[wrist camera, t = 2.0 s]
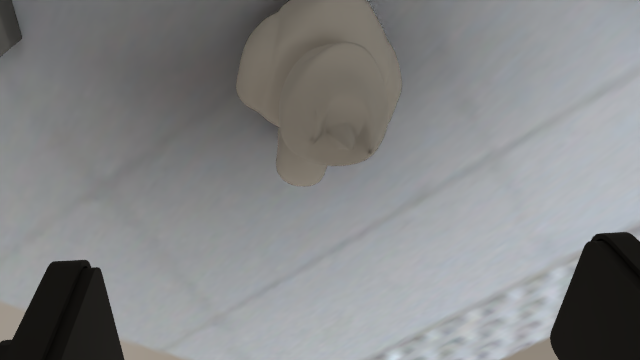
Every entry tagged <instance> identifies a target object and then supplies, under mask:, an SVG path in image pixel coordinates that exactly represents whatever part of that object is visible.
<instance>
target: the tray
mask: <svg viewBox="0 0 640 360" xmlns="http://www.w3.org/2000/svg"><path fill="white" fill-rule="evenodd" d="M21 39H22V36H21V33H20V29H19V26H18V22H17V19H16V16H15V12H14V9H13V5H12V2H11V0H0V57H1V56H2V55H3V54H4V53H5V52H7V51H8V50H9V49H10V48H11V47H12V46H14V45H15V44H16V43H17V42H18V41H19V40H21Z"/></svg>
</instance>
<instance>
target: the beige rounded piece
mask: <svg viewBox="0 0 640 360" xmlns="http://www.w3.org/2000/svg"><path fill="white" fill-rule="evenodd" d="M401 89H402V79H401V72H400V68H399V63H398V60H397V57H396V54H395V52H394V50H393V48H392V46H391V45H390V43H389V42H388V41H387V38H386V35H385V33H384V31H383V29H382V27H381V25H380V23H379V21H378V19H377V17H376V15H375V13H374V12H373V10H372V8H371V6H370V4H369V3H368V1H367V0H290V1H288V2H287V3H286V4H284V5H283V6H282V7H281V8H280V10H279V11H278V12H277V13H275V14H273V15H271V16H269V17H268V18H266V19H265V20H264V21H262V22H261V23H260V24H259V25H258V26H257V27H256V29H255V30H254V31H253V32H252V33H251V35H250V36H249V38H248V40H247V42H246V44H245V47H244V50H243V52H242V56H241V61H240V66H239V71H238V76H237V82H236V90H237V94H238V96H239V98H240V99H241V101H242V102H243V103H244V104H245V105H246V106H248V107H249V108H251V109H253V110H255V111H257V112H259V113H260V114H261V115H262V116H263V117H264V118H265V119H266V120H268V121H269V122H271V123H272V124H274V125H276V126H278V127H279V129H278V149H277V159H276V167H277V172H278V174H279V175H280V177H281V178H282V179H283V180H284V181H285V182H287V183H289V184H291V185H295V186H311V185H314V184H316V183H318V182H319V181H320V180H321V179H322V178H323V176H324V174H325V171H326V168H327V165H328V166H345V165H351V164H356V163H359V162H362V161H364V160H366V159H368V158H369V157H371V156H372V155H373V154H374V153H375V151H376V150H377V149H378V147H379V145H380V144H381V142H382V140H383V138H384V135H385V132H386V129H387V126H388V124H389V122H390V120H391V117H392V115H393V112H394V110H395V107H396V104H397V102H398V99H399V97H400V94H401Z"/></svg>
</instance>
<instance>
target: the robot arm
mask: <svg viewBox="0 0 640 360" xmlns="http://www.w3.org/2000/svg"><path fill="white" fill-rule="evenodd" d="M550 340H551V345H552V348H553V350H554V352H555V354H556V356H557V357H558V359H559V360H640V242H639V241H638V240H637V239H636V238H635V237H634V236H633V235H632V234H630V233H627V232H619V233H601V234H596V235H595V236H594V237H593V238H592V240H591V241H590V242H588V243H586V245H585V246H584V249H583V251H582V254H581V256H580V259H579V261H578V264H577V267H576V269H575V272H574V274H573V277H572V279H571V282H570V285H569V287H568V290H567V292H566V295H565V297H564V300H563V303H562V305H561V308H560V310H559V313H558V315H557V318H556V321H555V323H554V326H553V328H552V331H551V335H550ZM0 360H124V357H123V352H122V349H121V345H120V341H119V337H118V333H117V329H116V326H115V322H114V318H113V314H112V310H111V306H110V303H109V299H108V295H107V291H106V287H105V283H104V279H103V276H102V272H101V270H100V268H98V267H96V268H91V266H90V263H89V262H88V261H87V260H74V261H55V262H52V263H50V265H49V266H48V268H47V270H46V272H45V274H44V276H43V278H42V280H41V282H40V284H39V286H38V288H37V290H36V292H35V294H34V297H33V299H32V301H31V303H30V305H29V307H28V309H27V311H26V313H25V315H24V317H23V319H22V321H21V323H20V325H19V327H18V329H17V331H16V333H15V335H14V337H13V339H12V340H5V341H2V342H0Z"/></svg>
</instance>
